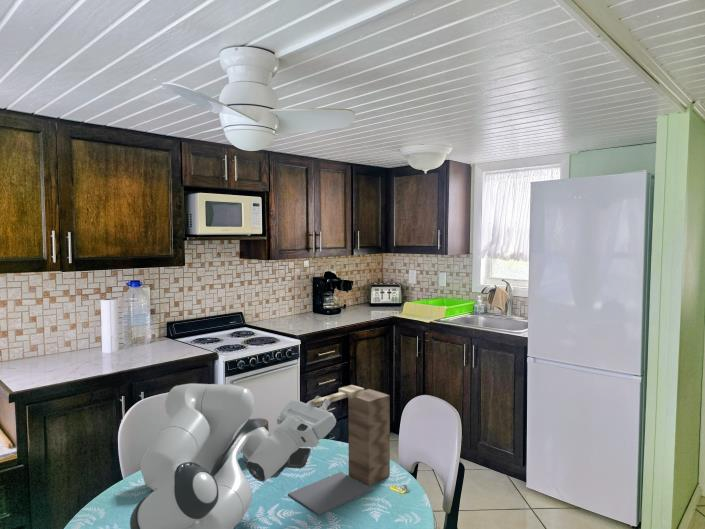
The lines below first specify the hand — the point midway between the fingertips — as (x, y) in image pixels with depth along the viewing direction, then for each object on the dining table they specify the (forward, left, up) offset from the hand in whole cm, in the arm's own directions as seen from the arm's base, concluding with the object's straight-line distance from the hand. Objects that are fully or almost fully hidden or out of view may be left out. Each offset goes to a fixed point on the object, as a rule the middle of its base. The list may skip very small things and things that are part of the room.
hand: (324, 399), depth 150 cm
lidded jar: (-36, +41, -31) cm, 63 cm away
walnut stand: (+20, 0, -31) cm, 37 cm away
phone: (+10, +28, -31) cm, 43 cm away
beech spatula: (+6, 0, -1) cm, 6 cm away
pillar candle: (-2, +38, -31) cm, 49 cm away
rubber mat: (+3, 0, -31) cm, 31 cm away
